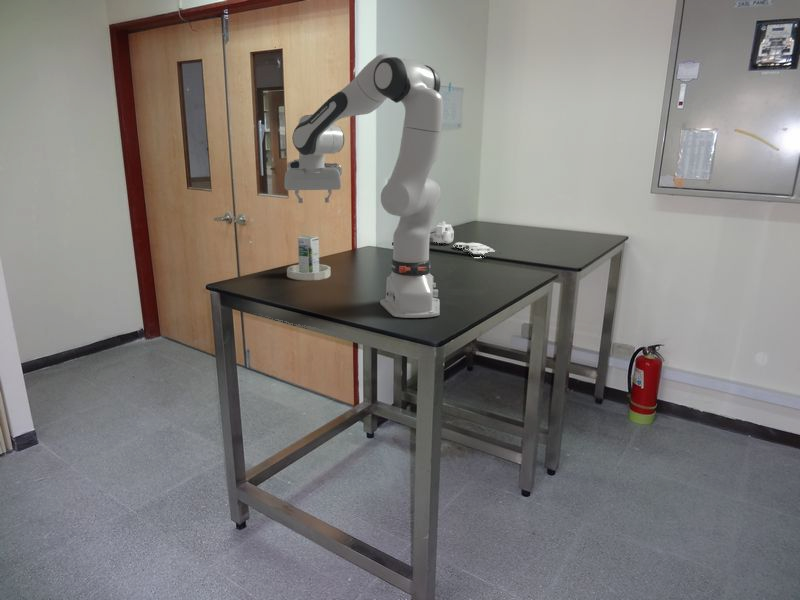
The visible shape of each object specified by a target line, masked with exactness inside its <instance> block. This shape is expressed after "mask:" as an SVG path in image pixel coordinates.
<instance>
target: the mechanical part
mask: <svg viewBox="0 0 800 600" xmlns="http://www.w3.org/2000/svg"><path fill="white" fill-rule="evenodd" d="M454 230H455V229H453V227H452V224H450V223H449V224H447V223H446V221H445V220H443V221H442V222H438V224H436V228H434V229H433V231H434V232H433V233H430V238H431V239H432V242H433V243H434V242H435V243H436V242H437V243H438V244H439V243H440V244H444V243H446V244H451V243H453V241H454V234H455V231H454ZM430 238H429V239H430ZM437 243H436V244H437Z"/></svg>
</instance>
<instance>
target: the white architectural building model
mask: <svg viewBox="0 0 800 600" xmlns="http://www.w3.org/2000/svg"><path fill="white" fill-rule="evenodd" d="M454 245H455V246H456V245H458V247H457V248H462V249H463V247H466V246H467V247H468V246H469V248H468V249H469V250H468V249H466V248H465V250H468V251H470V252H472V253H473V254H483V255H484V254H485V253H488V252H495V251H496V250H494V249H493V248H492V247H490V246H487V245H485V244H482V243H480V242H463V241H461V242H455V243H454V244H453V245H452V247H453V248H455V246H454ZM459 245H462V247H459ZM471 249H473V250H471ZM473 259H483V258H482V257H481V256H480V257H473Z"/></svg>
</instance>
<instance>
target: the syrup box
mask: <svg viewBox="0 0 800 600" xmlns="http://www.w3.org/2000/svg"><path fill="white" fill-rule="evenodd" d="M319 244H320V243H319V236H314V235H313V236H312V235H311V236H310V235H300V236H298V237H297V249H298V265H299V272H302V273H313V272H319V264H320V247H319V246H320V245H319Z"/></svg>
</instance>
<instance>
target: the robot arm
mask: <svg viewBox="0 0 800 600" xmlns="http://www.w3.org/2000/svg"><path fill="white" fill-rule="evenodd" d="M440 90H441V77H440V75H439V73H438V72H437V71H436V70H435V69H434V68H433V67H431V66H429V65H425V64H423V63H422V64H421V63H419V62H416V61H414V60H412V59H407V58H398V57H395V56H394V57H393V56H391V55H389V54H387V53H381V54H379V55H377V56H375V57H374V58H373V59H371V60H370V61H369V62H368V63H367V64H366V65H365V66H364V67H363V68H362V69H361V71H360V72H359V73H357V75H356V76H355V77H354V79H353V80H352V79H351V81H350V82H349V83H348V84H346V86H344V87H343V88H342V89H340V90H338V92H336V93H335V94H333V95H332V96H331V97H329V98H328V99H327V100H326V101H325V102H324V103H323V104H322V105H321V106H320V107H319V108H318V109H317V110H316V111H315V112H313V114H306V115H302V116H301V117H300V118H299V121H298V124H297V125H296V127H295V128H294V130H293V133H292V144H293V146H294V148H295V149H296V150H297V151H298V157H299V158H297V159H293V160H292V161H289V162H287V163H286V168H287V170H285V174H284V182H283V185H284V189H285V190H286V191H294V194H295V196H296V198H297V200H298V204H303V203H304V201H303V197H300V195H299V194H300V191H327V193H328V194H327V196H326V197H324V203H325V204H329V203H330V197H331V196H332V193H333V190H334V191H335V190H336V191H339V190H341V189H342V179H341V176H342V174H343V169H342V168H343V167H342V166H341V165H340V164H338V163H336V162H335V163H334V162H333V163H332V162H331V163H329V162H328V163H327V162H325V159H326V158H325V154H326V155H328V154H329V155H330V154H331V155H332V154H333V155H334V154H336V153H340V152H341V150H342V149H343V148H344V145H345V135H344V132H343V130H342V129H341V127H340V126H338V125H336V124H335V123H336V122H337V121H339V120H342V119H344V118H348V117H353V116H363V115H368V114H371V113H372V112H374V111H376V110H377V109H378V108H379V107H381V105H382V104H383V103H384V102H385V101H386V100H387V99H389V100H391V101H392V102H394V103H396V104H397V103H400V102H401V103H402V104H403V106H404V112H405V114H404V119H403V126H402V134H401V139H400V147H399V152H398V156H397V159H396V162H395V164H394V167H393V170H392V173H391V176H390V177H389V180H388V181H387V183H386V184H385V185H384V187H383V188H382V190H381V192H380V204H381V206H382V208H383V209H384V210H385V212H387V213H388V214H389V215H392V216H396V217H400V218H399V222H398V224H397V227H396V229H395V231H393V239H392V241H393V243H392V247H393V248H392V249H393V250H392V251H393V252H392V253H393V254H392V259H391V274H389V276H387V277H386V288H385V291H386V292H385V298H384V299H381V300H380V305H381V306H382V307H383V308H384V309H385V310H386V311H387V312H388V313H389V314H390V315H392V316H393V317H396V318H405V319H407V318H409V319H410V318H411V319H412V318H413V319H419V318H433V317H438V316H440V309H441V307H440V304H441V303H440V301H441V300H440V299H439V298H438V297H439V289H434V288H436V287H437V283H436V282H434V276H433V275H432V274H431V260H430V234H431V232H432V230H431V229H432V226H433V225H432V224H433V221H434V216H435V213H436V209H437V206H438V204H439V203H440V201H441V198H442V190H441V188H440V187H441V186H440V185H439V184H438V182H437V181H436V180H434V179H432V178H430V177H428V176H429V174H430V172H431V169H432V168H433V166H434V165H435V163H436V161H437V160H438V159H437V158H438V154H439V147H440V142H441V135H442V128H443V120H444V119H443V117H444V101H443V97H442V95H441V94H440Z"/></svg>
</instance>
